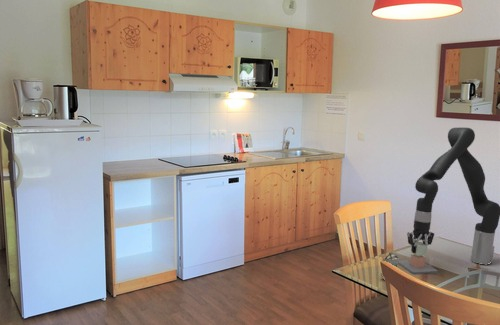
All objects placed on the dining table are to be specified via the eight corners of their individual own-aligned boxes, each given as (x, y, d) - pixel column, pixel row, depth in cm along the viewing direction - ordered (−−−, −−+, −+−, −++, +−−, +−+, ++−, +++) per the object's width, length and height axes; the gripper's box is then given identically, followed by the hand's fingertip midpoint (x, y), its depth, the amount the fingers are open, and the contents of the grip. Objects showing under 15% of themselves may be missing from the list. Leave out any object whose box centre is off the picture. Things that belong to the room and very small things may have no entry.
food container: (393, 283, 197) (396, 262, 196) (380, 279, 200) (382, 259, 199) (400, 274, 208) (402, 254, 206) (387, 271, 211) (389, 251, 209)
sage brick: (419, 251, 219) (421, 242, 218) (426, 255, 214) (427, 245, 214) (411, 251, 218) (412, 242, 217) (417, 255, 213) (418, 245, 212)
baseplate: (420, 261, 226) (420, 259, 226) (438, 272, 212) (438, 270, 212) (396, 262, 222) (396, 260, 222) (412, 274, 209) (412, 272, 209)
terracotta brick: (418, 263, 220) (419, 254, 220) (424, 267, 216) (425, 257, 215) (409, 263, 219) (410, 254, 218) (415, 267, 214) (416, 258, 214)
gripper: (430, 217, 219) (426, 249, 222) (405, 217, 215) (401, 250, 218) (440, 221, 212) (436, 255, 214) (414, 222, 208) (410, 256, 211)
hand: (418, 252), depth 216 cm, fingers closed on sage brick, 5 cm apart
